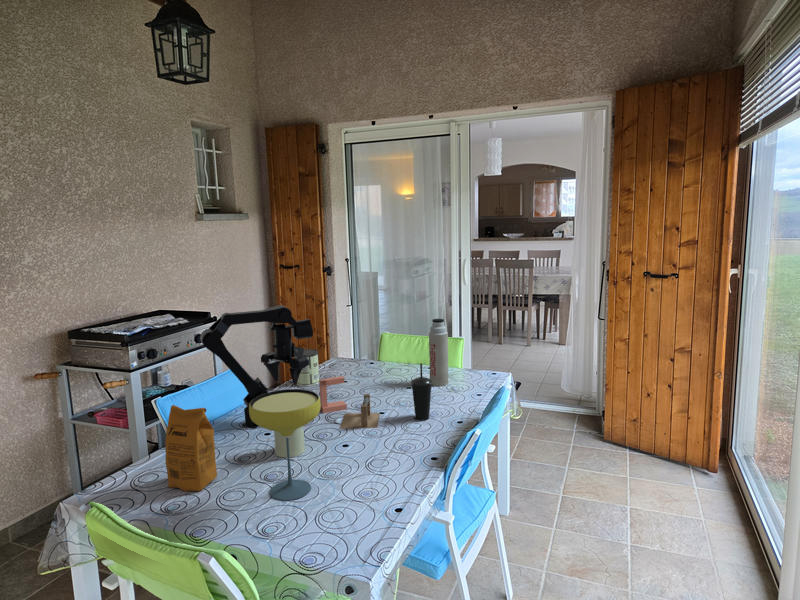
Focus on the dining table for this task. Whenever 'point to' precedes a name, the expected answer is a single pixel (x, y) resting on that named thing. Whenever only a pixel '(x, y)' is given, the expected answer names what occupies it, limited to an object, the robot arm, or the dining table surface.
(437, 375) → the thermos bottle
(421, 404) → the drinking cup
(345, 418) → the stand
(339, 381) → the c link
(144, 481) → the dining table surface
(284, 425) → the cocktail glass
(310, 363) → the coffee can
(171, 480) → the coffee package
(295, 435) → the can
